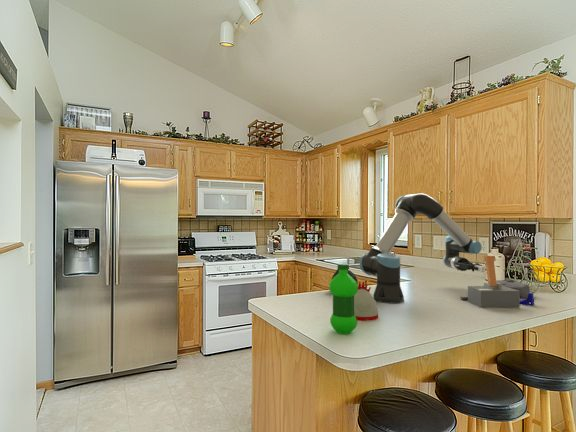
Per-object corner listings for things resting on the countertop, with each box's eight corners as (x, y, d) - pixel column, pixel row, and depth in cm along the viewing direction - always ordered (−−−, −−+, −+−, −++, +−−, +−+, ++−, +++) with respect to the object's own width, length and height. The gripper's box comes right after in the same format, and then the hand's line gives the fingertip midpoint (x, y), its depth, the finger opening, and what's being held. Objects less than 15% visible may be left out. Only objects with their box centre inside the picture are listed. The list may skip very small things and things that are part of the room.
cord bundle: (463, 300, 175) (463, 297, 175) (460, 299, 178) (460, 296, 178) (504, 300, 175) (504, 298, 175) (500, 299, 178) (500, 296, 178)
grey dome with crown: (343, 311, 154) (343, 278, 155) (374, 312, 154) (374, 278, 154) (348, 320, 140) (347, 284, 141) (381, 321, 140) (381, 284, 140)
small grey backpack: (532, 296, 187) (492, 290, 202) (532, 280, 187) (492, 276, 202) (523, 300, 177) (482, 293, 193) (523, 284, 177) (482, 278, 193)
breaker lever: (490, 287, 165) (486, 255, 168) (486, 287, 168) (483, 256, 171) (498, 287, 165) (495, 255, 168) (495, 287, 168) (491, 256, 171)
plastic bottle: (331, 326, 133) (331, 262, 133) (359, 328, 130) (358, 263, 130) (327, 334, 123) (326, 265, 123) (356, 337, 120) (356, 266, 120)
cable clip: (534, 304, 167) (534, 292, 167) (532, 306, 164) (532, 294, 164) (505, 300, 176) (505, 289, 176) (503, 302, 172) (503, 290, 172)
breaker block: (481, 307, 160) (480, 285, 161) (468, 301, 172) (467, 281, 173) (519, 307, 160) (519, 285, 160) (503, 301, 172) (503, 281, 172)
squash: (363, 284, 189) (355, 262, 199) (338, 287, 186) (331, 264, 196) (356, 297, 200) (348, 275, 209) (332, 300, 196) (325, 277, 206)
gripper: (471, 270, 198) (495, 276, 175) (449, 270, 199) (470, 276, 175) (471, 257, 199) (495, 262, 175) (449, 257, 199) (470, 262, 175)
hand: (483, 269), depth 175 cm, fingers closed
